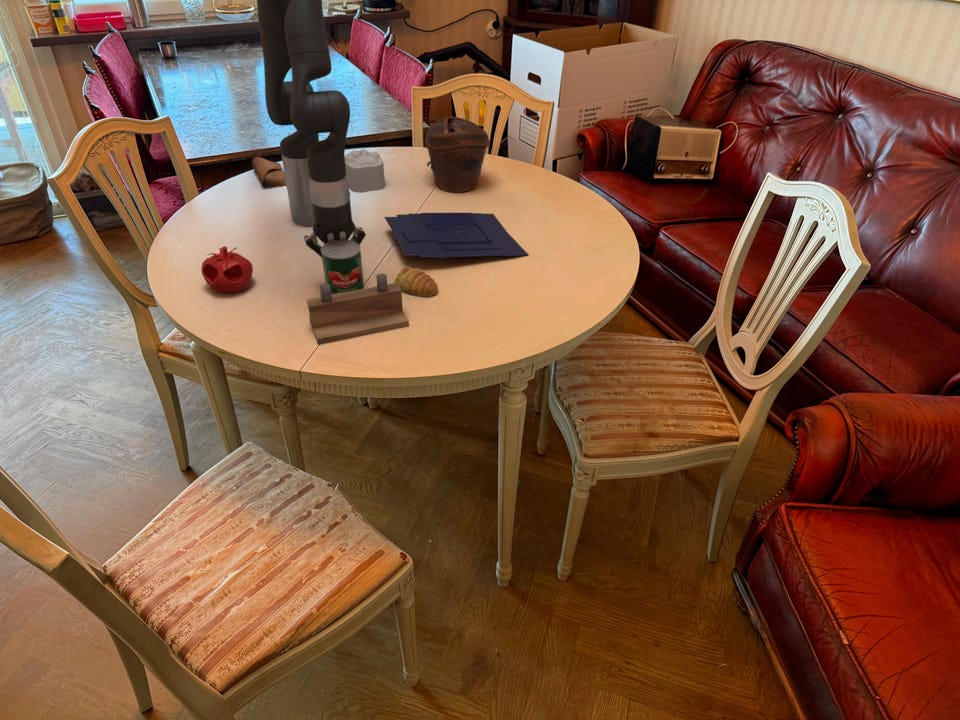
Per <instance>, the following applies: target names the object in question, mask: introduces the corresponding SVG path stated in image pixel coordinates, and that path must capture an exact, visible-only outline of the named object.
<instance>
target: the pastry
mask: <svg viewBox="0 0 960 720" xmlns="http://www.w3.org/2000/svg"><path fill="white" fill-rule="evenodd" d="M394 283H398V285H399V286H400V288H401V290H402V292H403V293H406V294H408V295H412V296H417V297H428V298H429V297H431V296H434V295H435V294H436V293H437V291H438V289H439V287H438V284H437V282H436V281H435V279H433V278H431V275H429V274H428V273H426V272H425V271H424V270H421V269H419V268H411V267H410V266H404V267H403V268H401V269H400V270H399V272H398V273H397V274H396V277H395V280H394Z"/></svg>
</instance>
